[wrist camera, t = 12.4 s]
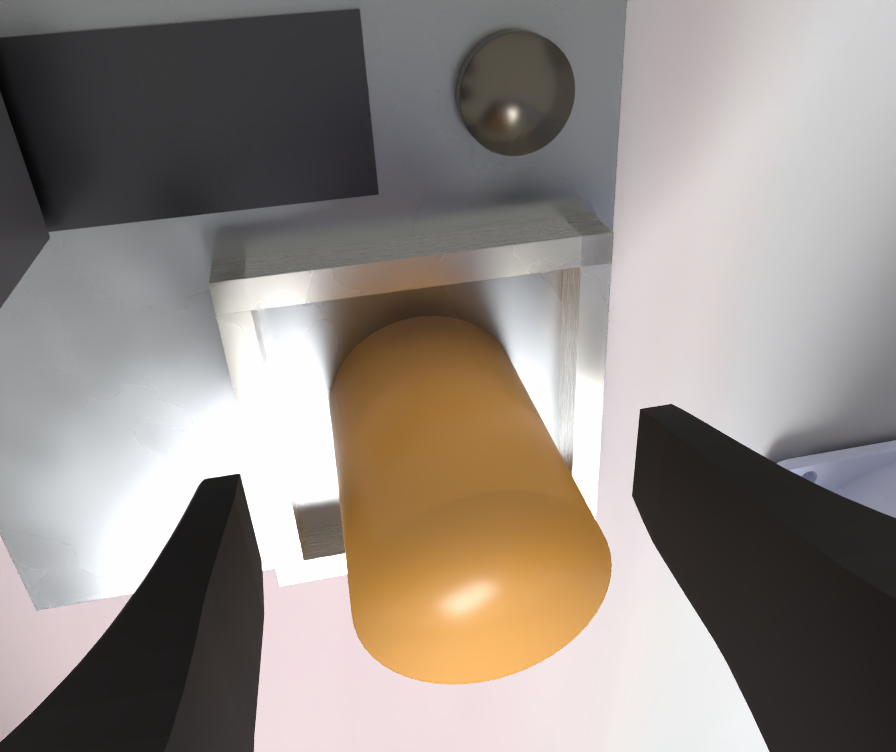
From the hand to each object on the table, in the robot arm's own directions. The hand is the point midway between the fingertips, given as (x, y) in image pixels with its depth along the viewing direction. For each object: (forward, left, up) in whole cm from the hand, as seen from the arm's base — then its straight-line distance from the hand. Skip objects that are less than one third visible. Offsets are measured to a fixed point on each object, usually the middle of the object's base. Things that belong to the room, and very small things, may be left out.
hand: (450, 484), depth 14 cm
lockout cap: (0, 0, -3) cm, 3 cm away
